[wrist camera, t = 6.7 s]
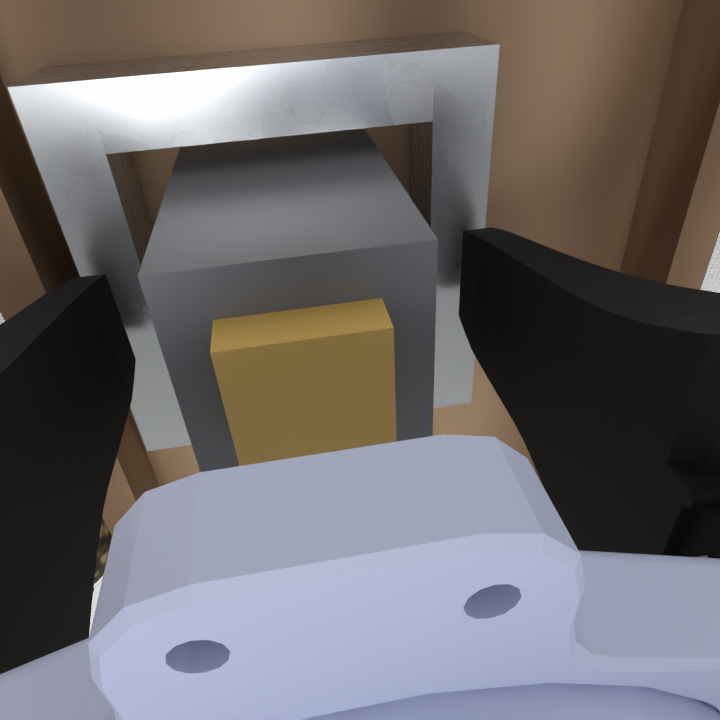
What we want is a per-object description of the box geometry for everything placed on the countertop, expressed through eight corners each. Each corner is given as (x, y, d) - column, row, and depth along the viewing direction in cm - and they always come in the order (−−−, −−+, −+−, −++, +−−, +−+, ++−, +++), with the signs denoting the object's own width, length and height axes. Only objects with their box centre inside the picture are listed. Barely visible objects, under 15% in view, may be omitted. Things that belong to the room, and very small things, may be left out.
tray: (750, -161, 11) (859, -184, 9) (586, 472, 22) (620, 526, 20) (-124, -115, 10) (-220, -131, 8) (158, 543, 20) (148, 609, 18)
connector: (364, 128, 13) (455, 265, 7) (372, 288, 15) (445, 482, 10) (180, 146, 12) (127, 307, 7) (217, 307, 15) (201, 522, 9)
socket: (465, 30, 12) (499, 44, 10) (449, 359, 17) (471, 402, 15) (41, 66, 11) (7, 87, 9) (157, 400, 16) (147, 451, 14)
